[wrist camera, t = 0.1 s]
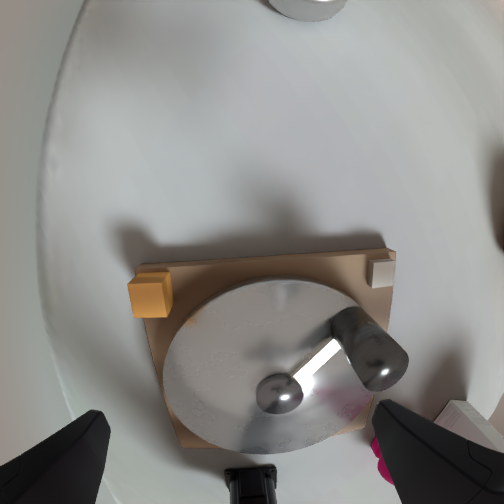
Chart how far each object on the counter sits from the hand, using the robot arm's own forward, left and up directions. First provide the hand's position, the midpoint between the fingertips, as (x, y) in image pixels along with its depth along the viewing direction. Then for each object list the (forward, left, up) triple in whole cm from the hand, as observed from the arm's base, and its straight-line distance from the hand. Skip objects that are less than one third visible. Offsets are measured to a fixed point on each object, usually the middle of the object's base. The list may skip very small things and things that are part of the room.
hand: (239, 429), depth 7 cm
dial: (-8, -3, -13) cm, 16 cm away
